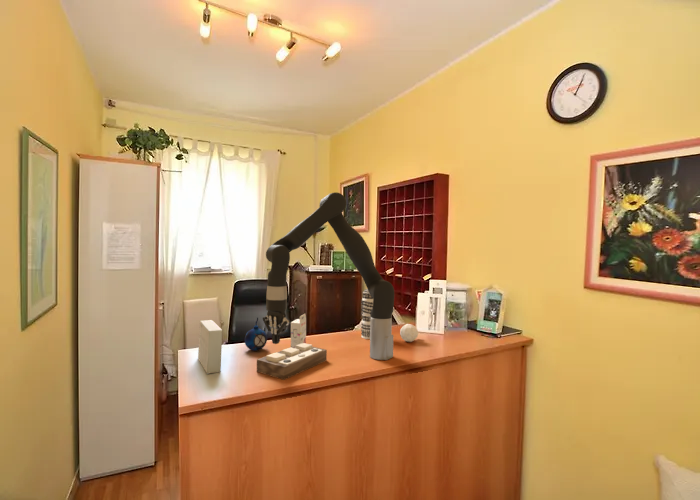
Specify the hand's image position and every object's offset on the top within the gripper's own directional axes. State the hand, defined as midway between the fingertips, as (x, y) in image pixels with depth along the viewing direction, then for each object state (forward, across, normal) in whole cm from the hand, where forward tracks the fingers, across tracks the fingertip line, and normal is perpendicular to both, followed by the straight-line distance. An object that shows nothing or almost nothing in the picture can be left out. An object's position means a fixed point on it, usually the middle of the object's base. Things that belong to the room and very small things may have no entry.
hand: (275, 343), depth 130 cm
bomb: (+11, +25, -13) cm, 30 cm away
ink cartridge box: (+11, +15, -30) cm, 35 cm away
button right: (+7, 0, -16) cm, 18 cm away
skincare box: (+11, +26, +10) cm, 30 cm away
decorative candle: (+10, -5, -63) cm, 64 cm away
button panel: (+10, -2, -8) cm, 13 cm away
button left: (+7, 0, 0) cm, 8 cm away
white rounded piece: (+10, -26, -69) cm, 74 cm away
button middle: (+7, 0, -8) cm, 11 cm away
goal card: (+6, -6, -8) cm, 12 cm away
